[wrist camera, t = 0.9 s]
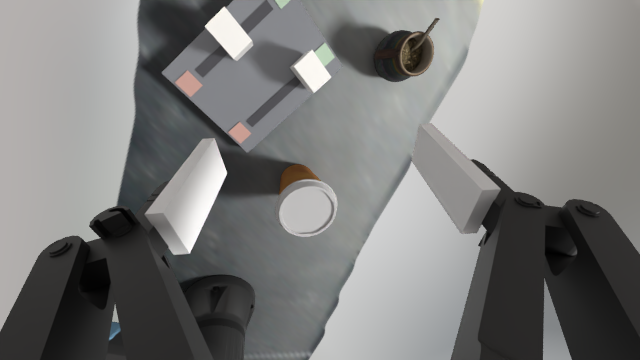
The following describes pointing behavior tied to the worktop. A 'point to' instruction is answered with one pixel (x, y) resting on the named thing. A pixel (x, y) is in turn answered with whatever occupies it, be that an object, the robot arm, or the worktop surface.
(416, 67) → the mate gourd
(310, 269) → the worktop surface
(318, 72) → the block
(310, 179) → the disposable coffee cup
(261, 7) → the panel
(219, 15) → the block
